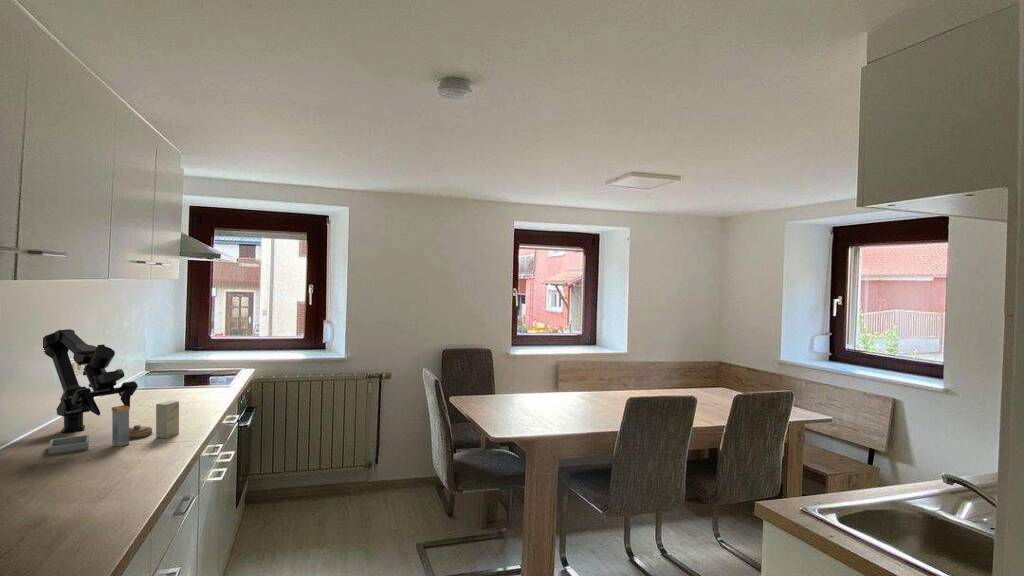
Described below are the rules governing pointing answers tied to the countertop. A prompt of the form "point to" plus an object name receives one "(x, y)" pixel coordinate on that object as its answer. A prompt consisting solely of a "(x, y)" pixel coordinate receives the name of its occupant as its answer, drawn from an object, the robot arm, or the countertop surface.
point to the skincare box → (167, 419)
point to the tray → (68, 444)
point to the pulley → (139, 431)
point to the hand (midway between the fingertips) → (114, 412)
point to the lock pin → (120, 425)
